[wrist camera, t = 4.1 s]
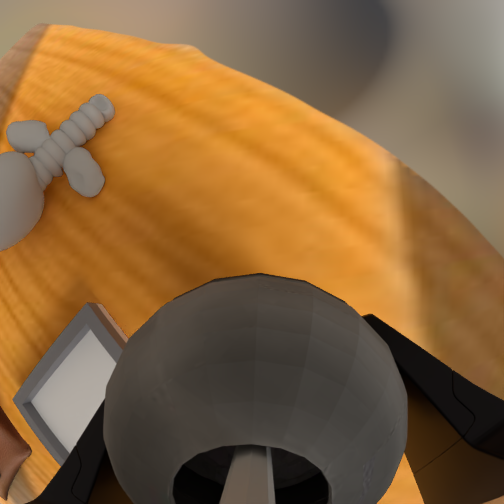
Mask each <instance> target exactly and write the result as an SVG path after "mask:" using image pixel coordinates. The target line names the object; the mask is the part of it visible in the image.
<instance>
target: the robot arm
mask: <svg viewBox="0 0 504 504" xmlns="http://www.w3.org/2000/svg"><path fill="white" fill-rule="evenodd" d="M361 317H362V318H363V319H364V320H365V321H366V322H367V323H368V324H369V325H370V326H371V327H372V328H373V330H374V331H375V332H376V333H377V334H378V335H379V336H380V337H381V338H382V339H383V340H384V341H385V342H386V344H387V345H388V346H389V349H390V351H391V353H392V356H393V358H394V361H395V363H396V365H397V368H398V370H399V373H400V375H401V378H402V381H403V383H404V386H405V389H406V392H407V401H408V428H407V442H406V448H405V451H404V453H405V455H406V458H407V460H408V462H409V465H410V467H411V470H412V472H413V474H414V478H415V480H416V483H417V485H418V488H419V490H420V493H421V496H422V498H423V501H424V504H504V400H502V399H500V398H498V397H496V396H494V395H493V394H491V393H489V392H487V391H485V390H483V389H482V388H480V387H478V386H477V385H475V384H473V383H472V382H470V381H469V380H467V379H466V378H464V377H463V376H461V375H460V374H458V373H457V372H455V371H454V370H453V371H452V369H451V368H450V367H448V366H447V365H445V364H444V363H442V362H441V361H440V360H438V359H437V358H435V357H434V356H432V355H431V354H430V353H428V352H427V351H425V350H424V349H422V348H421V347H420V346H418V345H417V344H415V343H414V342H412V341H411V340H409V339H408V338H406V337H405V336H404V335H402V334H401V333H399V332H398V331H396V330H395V329H393V328H392V327H390V326H389V325H388V324H386V323H385V322H383V321H382V320H380V319H379V318H377V317H376V316H374V315H373V314H367V315H364V316H361ZM104 406H105V399H104V400H103V402H102V403H101V405H100V406H99V408H98V409H97V411H96V413H95V414H94V416H93V417H92V419H91V420H90V422H89V424H88V425H87V427H86V428H85V430H84V432H83V433H82V435H81V436H80V438H79V440H78V441H77V443H76V445H75V446H74V448H73V449H72V451H71V453H70V454H69V456H68V457H67V459H66V460H65V462H64V464H63V465H62V466H61V468H60V469H59V471H58V472H57V473H56V475H55V476H54V477H53V479H52V480H51V481H50V483H49V484H48V485H47V487H46V488H45V489H44V491H43V492H42V493H41V494H40V495H39V496H38V497H37V498H36V499H34V500H33V501H31V502H28V503H25V504H134V503H133V502H132V501H131V499H130V498H129V497H128V495H127V494H126V492H125V491H124V490H123V488H122V487H121V485H120V484H119V482H118V480H117V477H116V475H115V473H114V470H113V467H112V464H111V461H110V458H109V455H108V451H107V448H106V445H105V441H104V438H103V424H104Z"/></svg>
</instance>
